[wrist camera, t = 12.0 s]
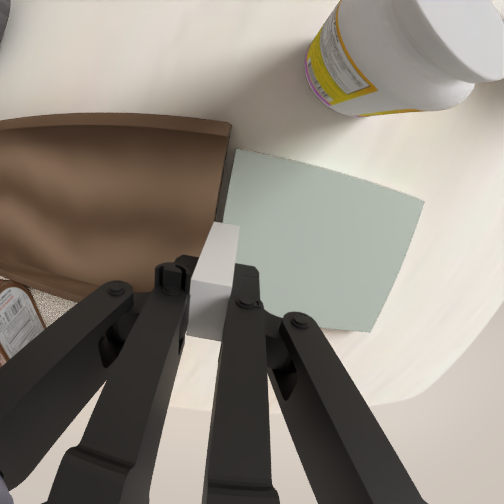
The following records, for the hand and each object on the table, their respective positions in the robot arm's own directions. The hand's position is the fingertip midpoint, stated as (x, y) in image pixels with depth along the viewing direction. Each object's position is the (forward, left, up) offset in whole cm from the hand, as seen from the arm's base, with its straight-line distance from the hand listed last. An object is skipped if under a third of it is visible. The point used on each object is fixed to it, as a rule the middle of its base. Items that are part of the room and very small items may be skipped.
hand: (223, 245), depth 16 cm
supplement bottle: (-13, +6, -4) cm, 15 cm away
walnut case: (0, -14, -4) cm, 15 cm away
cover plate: (+1, +7, -5) cm, 8 cm away
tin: (+15, -20, -4) cm, 26 cm away
